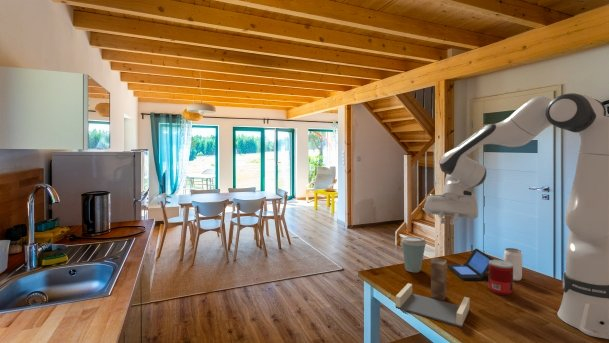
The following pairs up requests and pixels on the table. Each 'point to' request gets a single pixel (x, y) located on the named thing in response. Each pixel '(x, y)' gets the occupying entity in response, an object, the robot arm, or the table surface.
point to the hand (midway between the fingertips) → (447, 223)
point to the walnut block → (438, 278)
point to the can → (514, 261)
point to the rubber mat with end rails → (432, 307)
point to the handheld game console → (472, 266)
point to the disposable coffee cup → (413, 253)
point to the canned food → (500, 277)
